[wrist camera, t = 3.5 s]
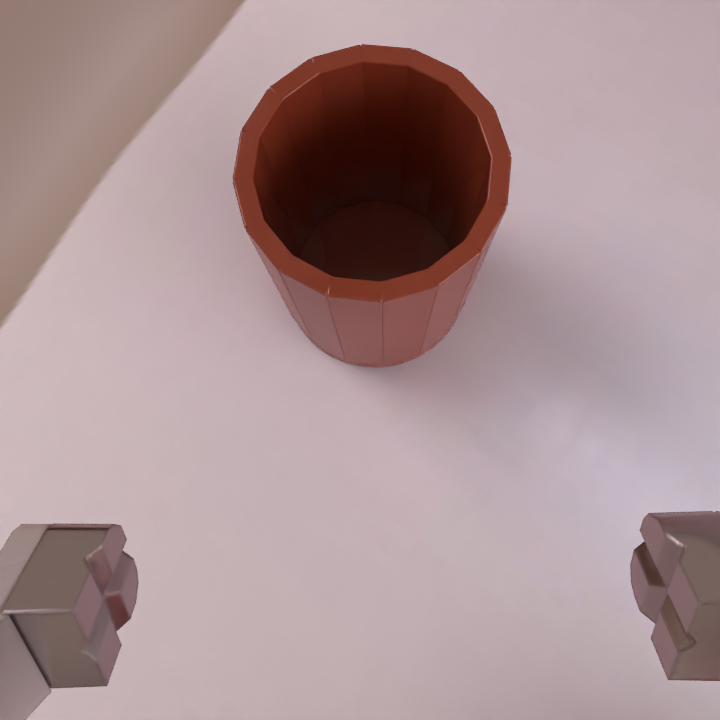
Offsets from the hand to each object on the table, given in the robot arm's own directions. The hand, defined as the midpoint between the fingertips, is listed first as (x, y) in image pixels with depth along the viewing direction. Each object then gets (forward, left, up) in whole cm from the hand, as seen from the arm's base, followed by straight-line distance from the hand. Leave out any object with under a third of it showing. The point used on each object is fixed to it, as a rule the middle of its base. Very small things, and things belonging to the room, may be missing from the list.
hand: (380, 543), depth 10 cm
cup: (-5, -7, -12) cm, 15 cm away
